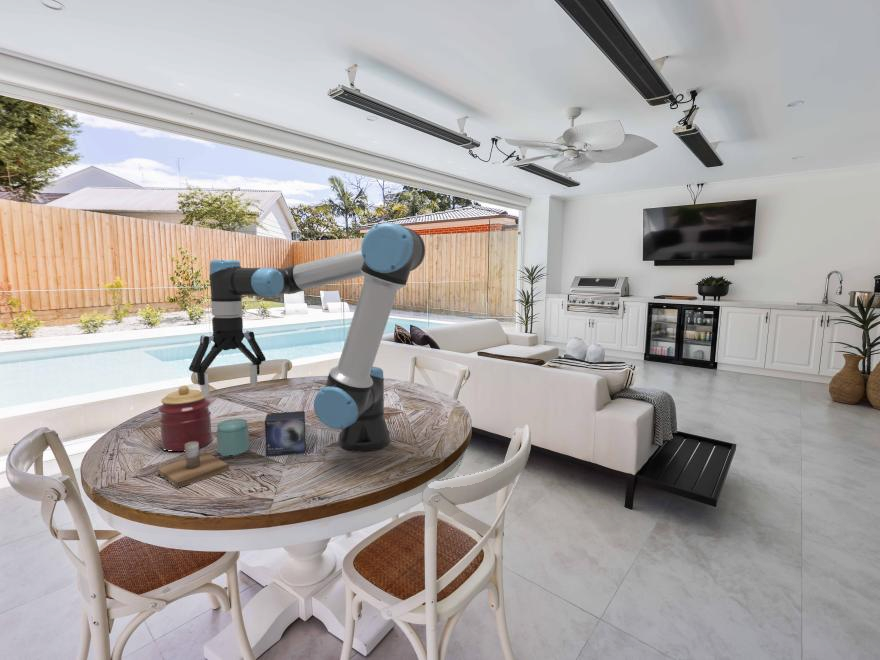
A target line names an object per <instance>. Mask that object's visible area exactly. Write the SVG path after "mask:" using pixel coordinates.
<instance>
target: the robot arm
mask: <svg viewBox="0 0 880 660" xmlns="http://www.w3.org/2000/svg"><path fill="white" fill-rule="evenodd" d="M360 247H361V248H359V249H354V250H351V251H346V252H342V253H338V254H335V255H331V256H328V257H324V258H319V259H315V260H311V261H308V262H307V261H306V262H303V263H299V264H295V265H291V266H286V267H282V268H281V267H280V268H275V267H274V268H273V267H272V268H271V267H242V266H241V262H240V261H239V260H236V259H212V260H210V263H209V275H208V276H209V285H210V297H211V298H210V301H211V302H210V303H211V306H210V307H211V315H212V316H213V317H212V318H211V322H212V332H213V333H212V335H200V339H199V345H198V347H197V350H196V351H195V354H194V356H193V359H192V360H191V363H190V365H189V367H188V371H190V372H192V373H196V374H197V384H198V385H200V386H201V392H202V395H203V396H205V398H209V397H210V385H209V384H210V383H209V372H206V371H207V370H208V369H209V367H210V366H211V365H212V363H213V362H214V361H215V359H216V358H217V356H218V355H219V354H220V353H221V352H222V351H229V350H237V349H238V350H239V351H240V352H241V353H242V354H243V355H244V356H245V357H246V358H247V359H248V360H249V361H250V362H251V363H249V383H250V384H249V385H250V387H254V388H257V387H258V376H259V375H260V371H261V370H260V366H261V365H262V362H266V360H267V358H266V357H265V355H264V353H263V351H262V349H261V347H260V345H259V344H258V342H257V341H256V338H255V337H256V336H255V333H254V331H251V330H250V331H249V330H246V332H244V331H243V329H244V325H243V322H244V321H243V320H244V319H243V317H242V316H241V315H243V301H242V299H243V298H242V296H254V297H264V298H268V297H277V296H279V295H286V294H287V295H292V294H297V293H299V292H300V291H304V290H310V289H312V288H317V287H321V286H326V285H331V284H336V283H339V282H342V281H343V282H344V281H347V280H351V279H356V278H360V277H363V278H364V280H363V284H362V287H361V290H360V293H359V297H358V299H357V303H356V306H355V310H354V313H353V316H352V319H351V322H350V325H349V329H348V331H347V334H346V338H345V341H344V344H343V348H342V350H341V354H340V358H339V361H338V363H337V365H336V366H334V367H332V368H330V370H329V372H328V375H327V379H326V382H325V384H324V387H322V388H320V390H319V391H318V392H317V393H316V395H315V396H314V400H313V411H314V413H315V415H316V416H317V419H318V420H319V421H320V423H322V425H324V426H325V427H328V428H329V429H334V430H340V433H339V434H338V445H339V446H340V447H341V448H342V449H344V450H347V451H351V452H358V453H359V452H372V451H376V450H380V449H383V448H384V447H386V446H387V445H389V443H390V441H391V435H390V434H391V433H390V431H389V428H388V425H387V422H386V418H385V415H384V414H385V412H384V411H385V409H384V408H385V405H384V404H385V399H384V397H385V396H384V395H385V394H384V393H385V390H384V388H385V383H384V381H385V377H384V371H383V369H382V368H381V367H377V366H374V363H375V360H376V356H377V354H378V351H379V347H380V344H381V342H382V340H383V335H384V332H385V329H386V327H387V324H388V320H389V318H390V314H391V310H392V308H393V305H394V302H395V301H396V297H397V293H398V291H399V290H400V289H402V288H404V287H406V285H407V283H408V279H409V276H410V273H411V272H412V271H414V270H416V269H417V268H419V266H421V264H422V262H424V258H425V255H426V246H425V242H424V239H423V238H422V237H421V235H420V234H419V233H418V232H417V231H416V230H413V229H411V228H409V227H405V226H404V225H402V224H399V223H394V222H383V223H382V222H381V223H379V224H376V225H375V226H372V227H371V228H370V229H369V230H367V231H366V233H365V235H364V237H363V238H362V241H361V246H360ZM244 339H245V340H246V341H247V343H248V344H249V347H250V348H251V350H252V351H253V352H251V350H250V349H249V348H248V347H247V346H246V345H245V344H244V342H243V340H244ZM212 342H213V345H212V347H211V348H210V350H209V352H208V353H207V355H206V352H207V350H208V348H209V345H210V344H211V343H212Z"/></svg>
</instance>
